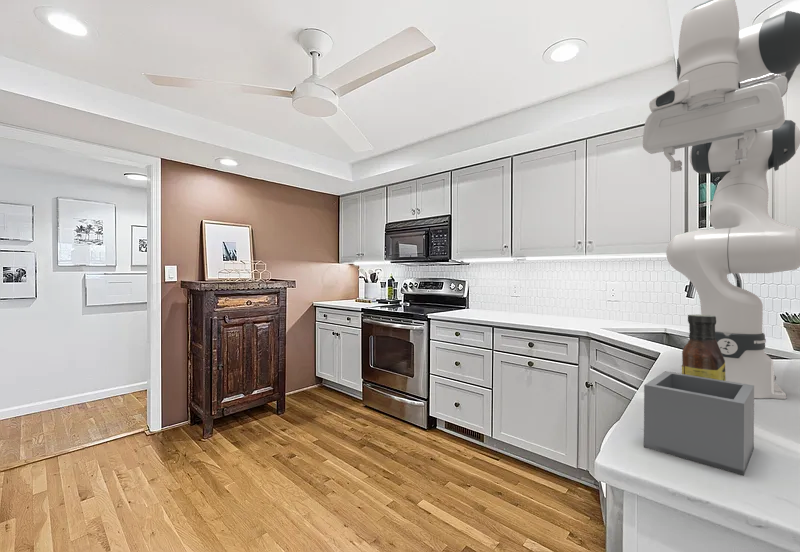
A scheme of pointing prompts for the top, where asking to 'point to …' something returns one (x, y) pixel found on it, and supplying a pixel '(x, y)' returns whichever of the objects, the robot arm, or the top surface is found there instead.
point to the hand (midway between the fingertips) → (707, 165)
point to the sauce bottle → (703, 349)
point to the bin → (700, 420)
